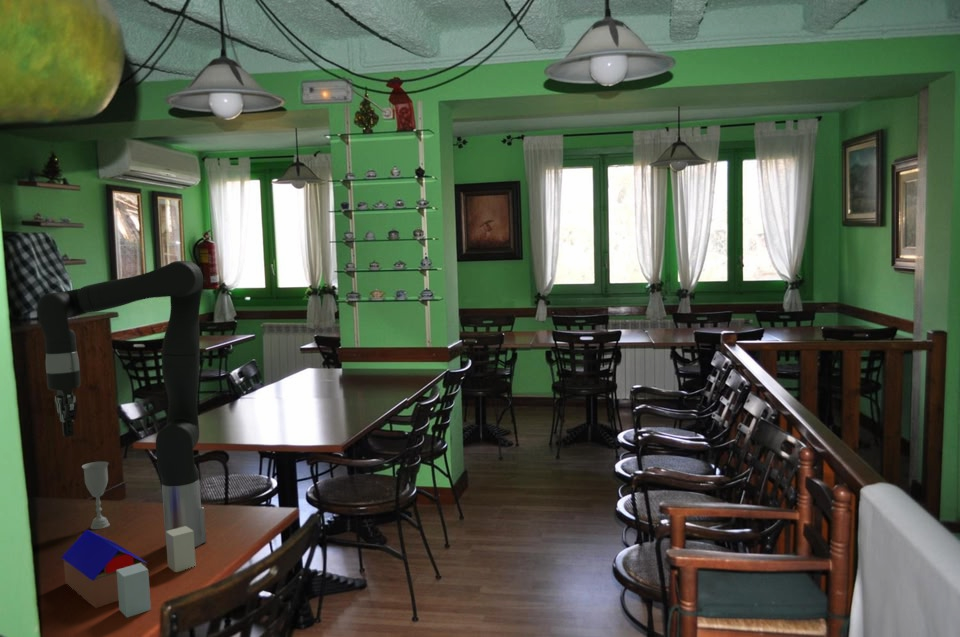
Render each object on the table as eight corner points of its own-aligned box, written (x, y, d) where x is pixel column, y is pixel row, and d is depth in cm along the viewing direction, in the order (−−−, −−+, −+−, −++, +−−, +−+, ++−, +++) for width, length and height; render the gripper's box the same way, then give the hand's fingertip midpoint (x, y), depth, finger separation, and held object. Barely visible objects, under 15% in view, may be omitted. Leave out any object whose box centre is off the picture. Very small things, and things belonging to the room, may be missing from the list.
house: (116, 568, 186) (112, 522, 185) (150, 591, 172) (146, 541, 171) (63, 584, 177) (59, 536, 176) (94, 610, 164) (90, 558, 163)
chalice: (118, 524, 217) (113, 463, 216) (95, 532, 211) (90, 469, 210) (104, 520, 221) (99, 460, 219) (81, 527, 215) (76, 466, 214)
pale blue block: (143, 602, 166) (140, 562, 166) (151, 609, 163) (148, 569, 162) (119, 609, 163) (116, 569, 162) (126, 617, 159) (123, 576, 158)
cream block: (188, 560, 189) (185, 525, 188) (195, 566, 185) (193, 530, 184) (168, 566, 185) (165, 531, 185) (175, 572, 182) (172, 536, 181)
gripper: (86, 370, 190) (91, 437, 192) (72, 365, 200) (77, 429, 202) (53, 374, 185) (58, 443, 187) (40, 369, 195) (46, 434, 197)
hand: (68, 436), depth 194 cm, fingers closed
